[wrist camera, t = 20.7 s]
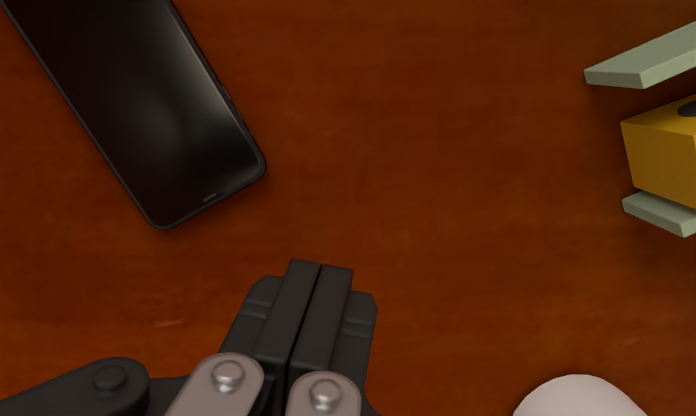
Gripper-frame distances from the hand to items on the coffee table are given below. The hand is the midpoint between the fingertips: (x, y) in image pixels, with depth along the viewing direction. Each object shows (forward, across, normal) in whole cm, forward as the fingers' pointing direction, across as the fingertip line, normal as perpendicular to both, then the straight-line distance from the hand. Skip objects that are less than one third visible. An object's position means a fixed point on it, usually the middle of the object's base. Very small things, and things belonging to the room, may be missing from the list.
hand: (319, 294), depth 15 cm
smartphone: (+20, +14, +2) cm, 24 cm away
